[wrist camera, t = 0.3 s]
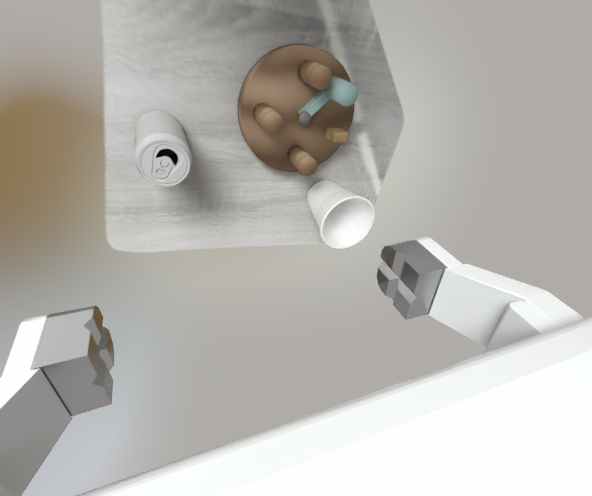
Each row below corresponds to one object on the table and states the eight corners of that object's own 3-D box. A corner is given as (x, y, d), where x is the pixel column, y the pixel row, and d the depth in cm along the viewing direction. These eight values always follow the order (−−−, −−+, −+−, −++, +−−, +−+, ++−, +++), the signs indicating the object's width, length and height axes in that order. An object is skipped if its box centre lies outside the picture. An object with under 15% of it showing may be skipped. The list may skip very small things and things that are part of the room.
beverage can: (190, 123, 50) (202, 152, 41) (172, 162, 52) (179, 197, 43) (145, 100, 47) (147, 126, 37) (127, 142, 49) (125, 177, 40)
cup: (307, 164, 60) (335, 191, 52) (353, 175, 65) (385, 201, 57) (289, 214, 65) (311, 246, 57) (333, 221, 70) (360, 252, 61)
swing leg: (301, 126, 54) (315, 137, 49) (290, 111, 52) (303, 121, 48) (343, 87, 52) (361, 95, 48) (333, 70, 51) (351, 77, 46)
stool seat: (240, 36, 46) (256, 42, 40) (357, 51, 53) (386, 59, 47) (235, 166, 56) (247, 187, 50) (335, 165, 63) (356, 184, 56)
